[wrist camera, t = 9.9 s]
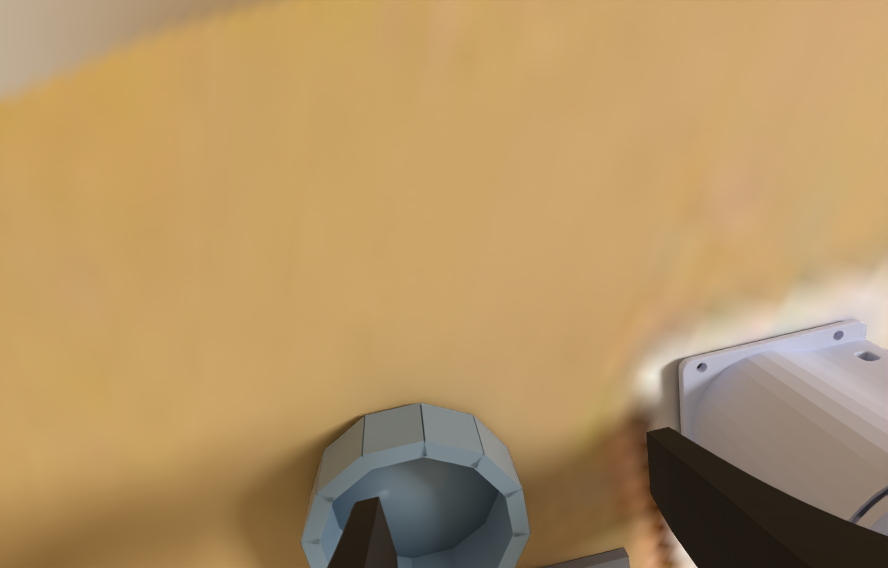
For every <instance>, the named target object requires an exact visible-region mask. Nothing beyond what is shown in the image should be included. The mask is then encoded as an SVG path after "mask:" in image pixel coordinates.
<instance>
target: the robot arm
mask: <svg viewBox="0 0 888 568" xmlns="http://www.w3.org/2000/svg"><path fill="white" fill-rule="evenodd" d="M835 333H836V334H835ZM834 334H835V335H834ZM865 338H866V324H865V323H864V322H862V321H859V320H857V319H851V320H847V321H843V322H838V323H834V324H830V325H825V326H821V327H817V328H813V329H808V330H804V331H800V332H796V333H791V334H787V335H783V336H779V337H774V338H770V339H766V340H761V341H757V342H753V343H749V344H744V345H740V346H736V347H732V348H727V349H723V350H719V351H715V352H710V353H706V354H702V355H698V356H693V357H689V358H686V359H684V360H683V361H682V362H681V363H680V364H679V368H678V373H679V397H680V421H681V434H680V433H678V432H676V431H675V430H673V429H671V428H670V427H666V428H662V429H658V430H654V431H650V432H646V434H647V448H648V462H649V476H650V490H651V495H652V496H653V498H654V500H655V502H656V504H657V506H658V508H659V509H660V511H661V513H662V515H663V517H664V518H665V520H666V522H667V524H668V525H669V527H670V529H671V531H672V532H673V533H674V535H675V536H676V538H677V539H678V541H679V542H680V543H681V545H682V546H683V548H684V549H685V551H686V552H687V553H688V555H689V556H690V558H691V559H692V560H693V562H694V563H695V565H696V566H697V567H698V568H888V350H887V349H885V348H883V347H880V346H878V345H876V344H874V343H872V342H870V341H868V340H865ZM701 363H702V366H701V367H700V368H698V369H697V366H698V365H699V364H701ZM327 568H398V562H397V553H396V550H395V547H394V544H393V540H392V537H391V534H390V531H389V527H388V524H387V521H386V518H385V515H384V511H383V508H382V505H381V502H380V498H379V496H378V497H374V498H370V499H366V500H361V501H357V502H355V504H354V505H353V507H352V510H351V512H350V515H349V518H348V520H347V523H346V525H345V528H344V530H343V533H342V535H341V537H340V540H339V542H338V544H337V547H336V549H335V551H334V553H333V556H332V558H331V560H330V562H329V564H328V566H327Z"/></svg>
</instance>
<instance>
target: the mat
mask: <svg viewBox="0 0 888 568" xmlns="http://www.w3.org/2000/svg"><path fill="white" fill-rule="evenodd" d="M544 568H630V565H629V556H628V554H627V553H626V551H625V549H624V548H621V549H617V550H613V551H609V552H605V553H601V554H597V555H593V556H589V557H584V558H580V559H576V560H572V561H568V562H564V563H560V564H556V565H552V566H548V567H544Z"/></svg>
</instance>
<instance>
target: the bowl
mask: <svg viewBox="0 0 888 568" xmlns="http://www.w3.org/2000/svg"><path fill="white" fill-rule="evenodd" d="M378 496H379V498H380V502H381V505H382V508H383V511H384V515H385V518H386V521H387V524H388V527H389V531H390V534H391V537H392V540H393V544H394V547H395V550H396V553H397V562H398V568H515V566H516V564H517V562H518V560H519V558H520V555H521V553H522V551H523V549H524V547H525V545H526V543H527V541H528V539H529V537H530V528H529V522H528V517H527V511H526V506H525V500H524V495H523V489H522V486H521V484H520V481H519V478H518V475H517V473H516V470H515V467H514V464H513V461H512V459H511V456H510V453H509V450H508V448H507V446H506V445H505V444H503V443H502V442H501V441H500V440H499V439H498V438H497V437H496V436H495V435H494V434H493V433H492V432H491V431H490V430H489V429H488V428H487V427H486V426H485V425H483V424H482V423H481V422H480V421H479V420H478V419H477V418H476V417H475V416H473V415H472V414H467V413H463V412H459V411H455V410H450V409H446V408H442V407H438V406H433V405H429V404H425V403H421V405H420V403H416V404H412V405H407V406H403V407H399V408H395V409H390V410H386V411H382V412H377V413H373V414H369V415H366V416H364V417H362V418H361V419H360V420H359V421H358V422H356V423H355V424H354V425H353V426H352V427H351V428H349V429H348V430H347V431H346V432H345V433H343V434H342V435H341V436H340V437H339V438H338V439H336V440H335V441H334V442H333V443H332V444H330V445H329V446H328V447H327V448H326V449H325V450H324V452H323V455H322V458H321V461H320V465H319V468H318V471H317V474H316V478H315V481H314V484H313V487H312V491H311V494H310V499H309V503H308V508H307V513H306V518H305V523H304V528H303V533H302V538H301V545H302V547H303V550H304V553H305V555H306V558H307V560H308V563H309V565H310V568H327V566H328V564H329V562H330V560H331V558H332V556H333V553H334V551H335V549H336V547H337V544H338V542H339V540H340V537H341V535H342V533H343V530H344V528H345V525H346V523H347V520H348V518H349V515H350V512H351V510H352V507H353V505H354V504H355V502H357V501H361V500H366V499H370V498H374V497H378Z"/></svg>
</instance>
